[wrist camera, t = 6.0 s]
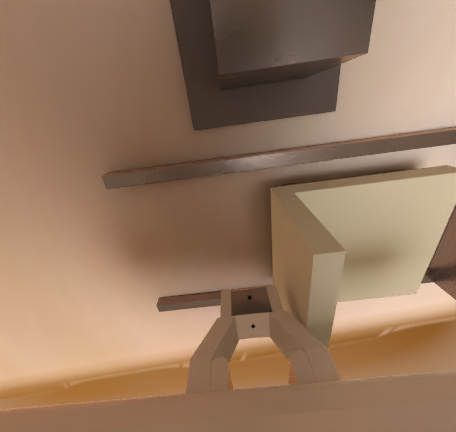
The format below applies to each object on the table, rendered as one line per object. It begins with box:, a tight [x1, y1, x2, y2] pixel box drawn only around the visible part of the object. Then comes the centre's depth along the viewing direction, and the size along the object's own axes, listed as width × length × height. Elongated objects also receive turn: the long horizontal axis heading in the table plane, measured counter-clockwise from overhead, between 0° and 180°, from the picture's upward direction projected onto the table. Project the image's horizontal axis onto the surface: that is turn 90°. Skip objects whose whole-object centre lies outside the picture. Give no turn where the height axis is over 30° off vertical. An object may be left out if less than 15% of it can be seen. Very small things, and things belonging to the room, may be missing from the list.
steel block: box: [209, 0, 376, 90], centre depth 7 cm, size 4×4×5 cm
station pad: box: [170, 0, 341, 130], centre depth 10 cm, size 8×8×1 cm
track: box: [102, 127, 456, 312], centre depth 14 cm, size 25×12×3 cm, turn 97°
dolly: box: [271, 165, 456, 348], centre depth 12 cm, size 10×9×8 cm
